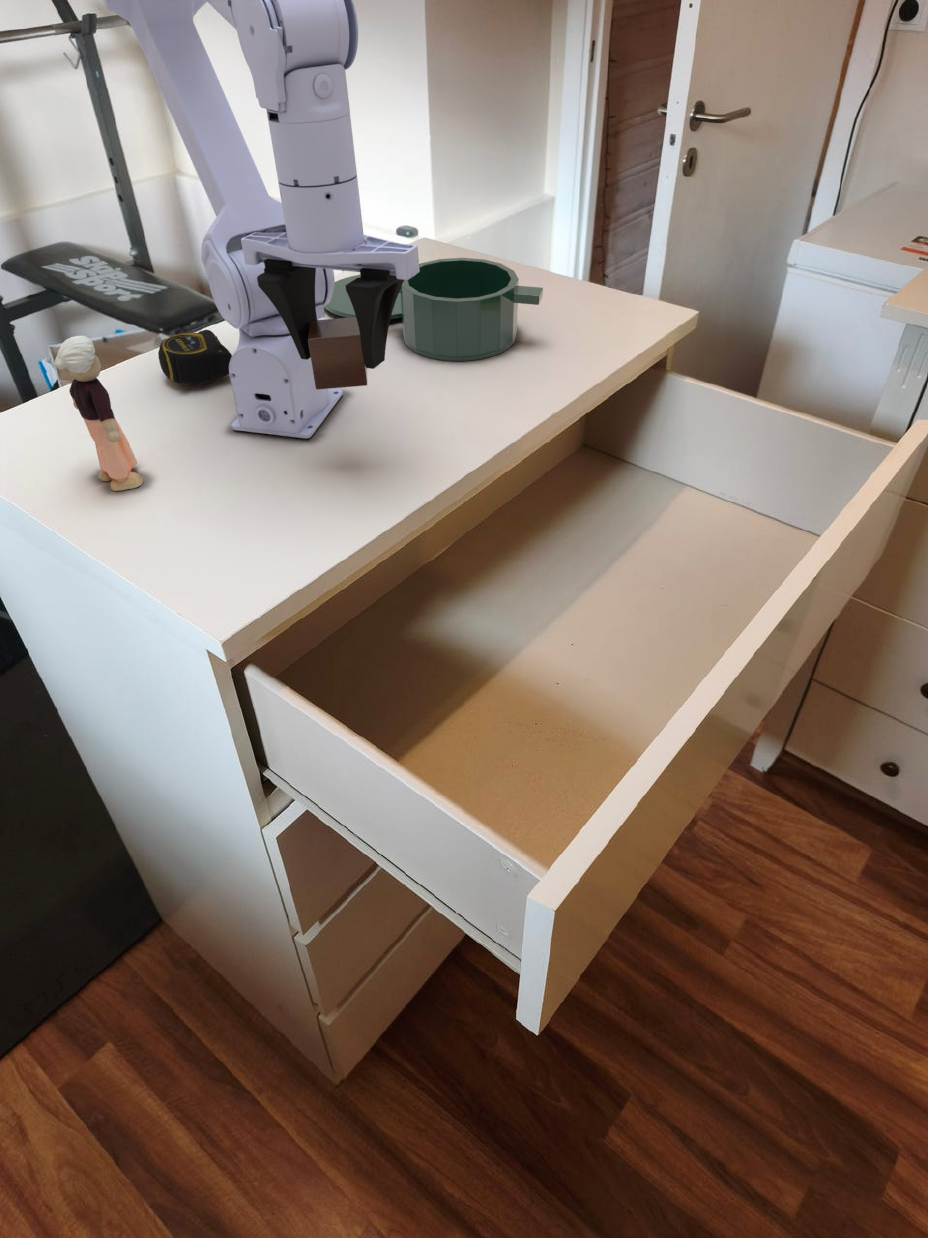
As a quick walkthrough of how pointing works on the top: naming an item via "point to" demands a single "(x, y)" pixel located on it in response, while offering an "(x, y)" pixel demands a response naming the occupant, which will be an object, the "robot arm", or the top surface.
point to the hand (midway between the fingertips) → (342, 359)
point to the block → (336, 353)
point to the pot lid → (342, 302)
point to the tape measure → (194, 358)
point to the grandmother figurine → (98, 413)
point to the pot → (463, 308)
